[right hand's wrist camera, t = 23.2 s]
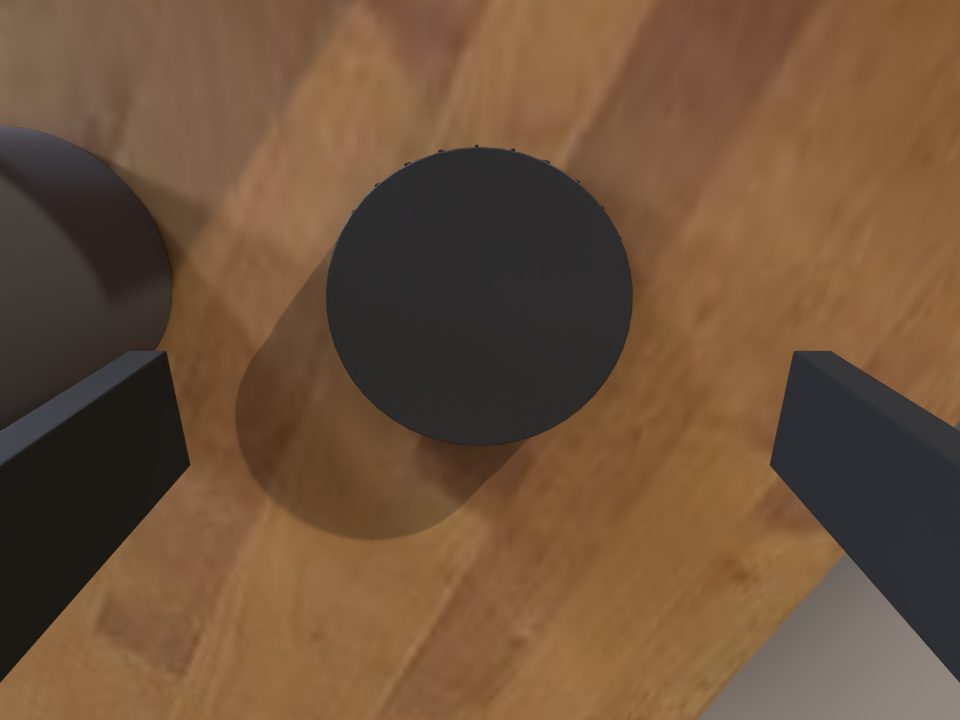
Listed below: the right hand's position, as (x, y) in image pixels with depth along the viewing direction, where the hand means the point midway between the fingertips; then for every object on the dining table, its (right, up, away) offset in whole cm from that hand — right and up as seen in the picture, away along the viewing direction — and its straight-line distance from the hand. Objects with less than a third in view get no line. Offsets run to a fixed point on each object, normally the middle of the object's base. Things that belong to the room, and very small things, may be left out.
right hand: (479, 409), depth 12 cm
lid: (0, +3, +9) cm, 10 cm away
